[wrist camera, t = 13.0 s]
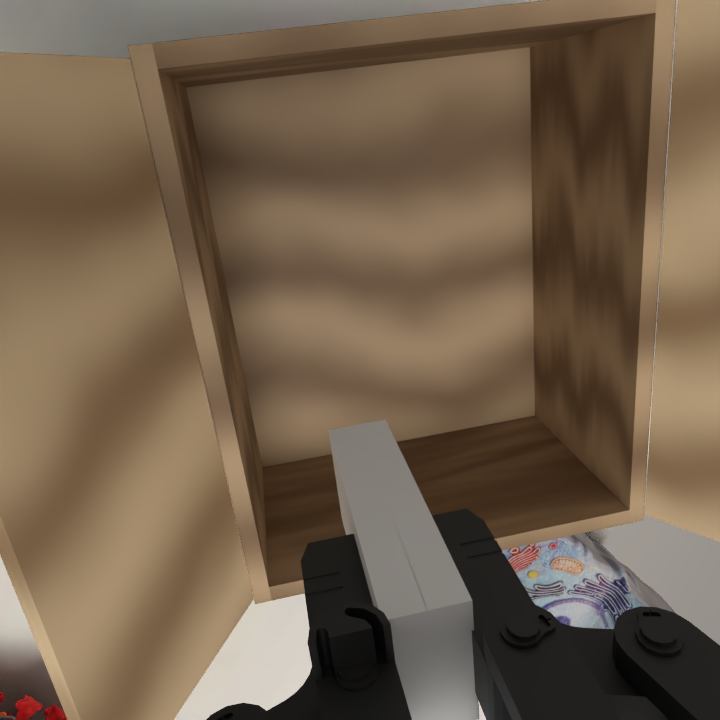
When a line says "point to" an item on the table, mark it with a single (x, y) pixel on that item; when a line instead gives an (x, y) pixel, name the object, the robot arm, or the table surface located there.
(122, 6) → the table surface
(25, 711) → the virus model
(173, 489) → the left flap
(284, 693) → the table surface
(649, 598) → the cell model
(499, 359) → the carton
